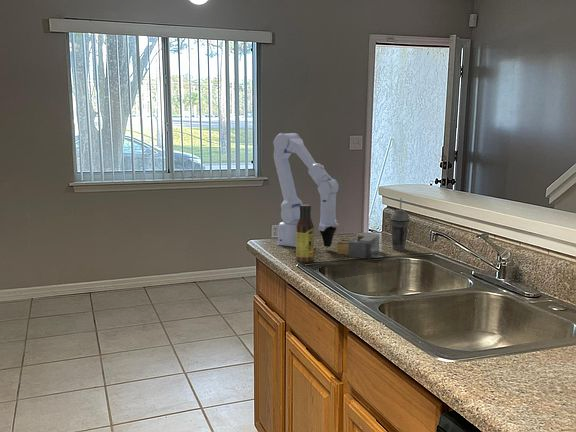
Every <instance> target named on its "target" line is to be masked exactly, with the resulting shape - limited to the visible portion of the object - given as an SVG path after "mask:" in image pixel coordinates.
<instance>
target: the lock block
mask: <svg viewBox="0 0 576 432" xmlns="http://www.w3.org/2000/svg"><path fill="white" fill-rule="evenodd" d="M349 241H354V240H351V239H341V240H340V241H338V242H337V244H336V255H337V254H339V255H346V256H348V245H349Z"/></svg>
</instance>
